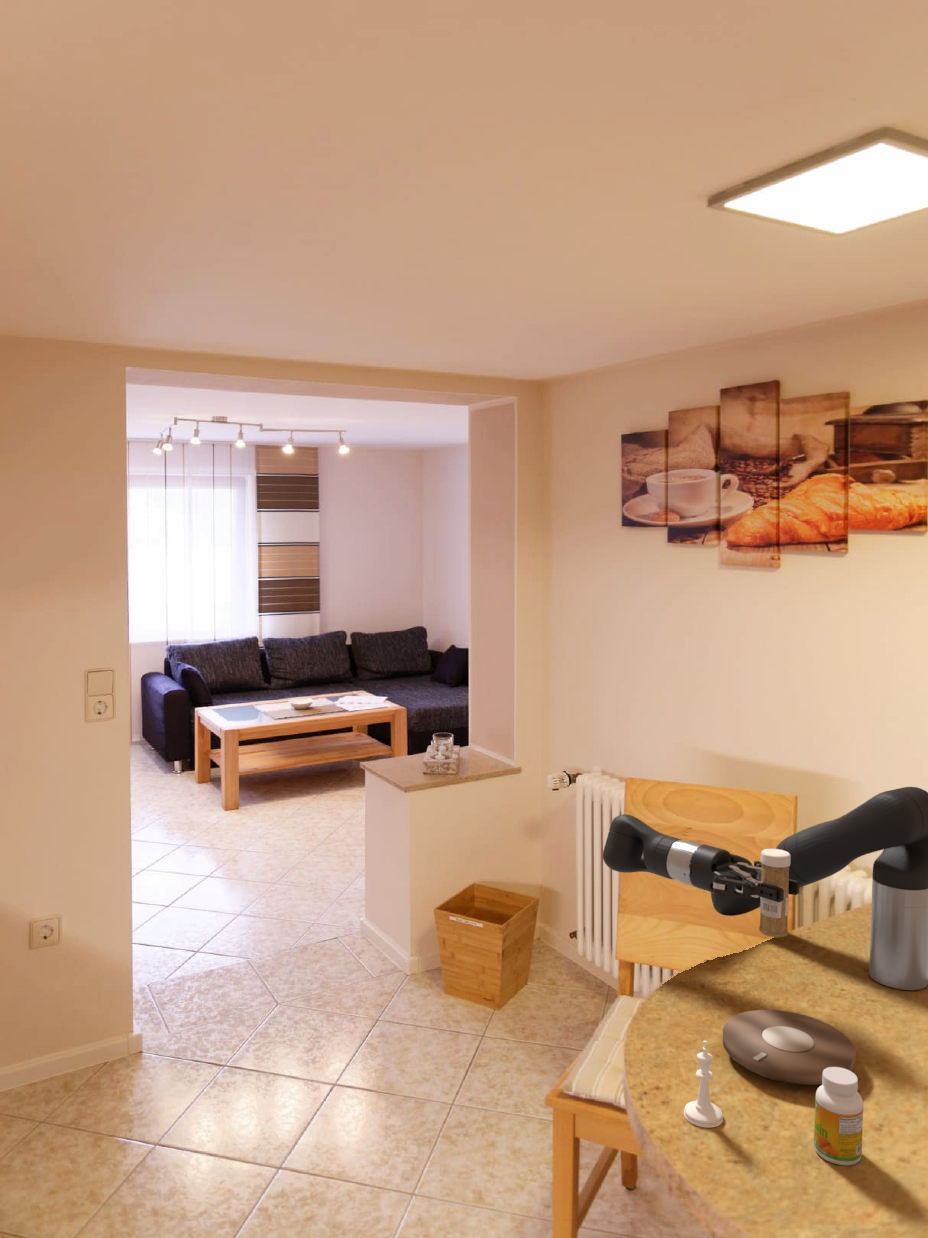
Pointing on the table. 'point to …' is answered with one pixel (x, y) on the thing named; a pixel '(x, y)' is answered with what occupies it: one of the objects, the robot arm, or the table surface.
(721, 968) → the table surface
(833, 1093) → the supplement bottle
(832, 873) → the robot arm
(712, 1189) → the table surface
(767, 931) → the sprinkles bottle
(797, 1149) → the table surface
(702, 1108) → the chess piece
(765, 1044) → the turntable platter
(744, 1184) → the table surface
